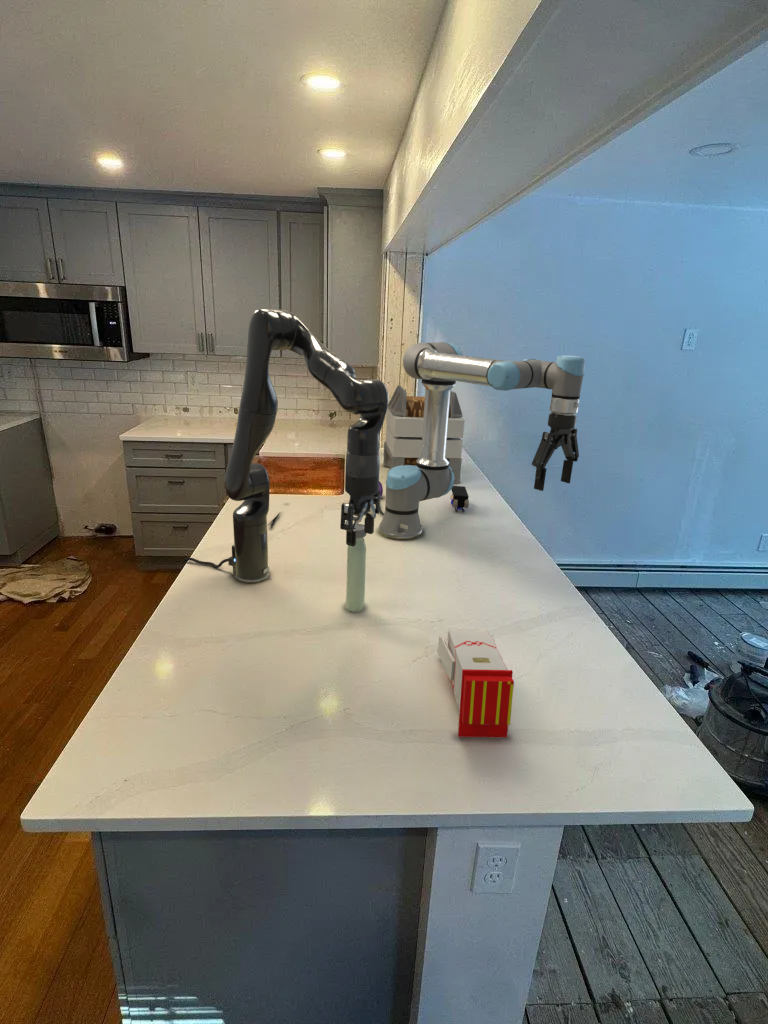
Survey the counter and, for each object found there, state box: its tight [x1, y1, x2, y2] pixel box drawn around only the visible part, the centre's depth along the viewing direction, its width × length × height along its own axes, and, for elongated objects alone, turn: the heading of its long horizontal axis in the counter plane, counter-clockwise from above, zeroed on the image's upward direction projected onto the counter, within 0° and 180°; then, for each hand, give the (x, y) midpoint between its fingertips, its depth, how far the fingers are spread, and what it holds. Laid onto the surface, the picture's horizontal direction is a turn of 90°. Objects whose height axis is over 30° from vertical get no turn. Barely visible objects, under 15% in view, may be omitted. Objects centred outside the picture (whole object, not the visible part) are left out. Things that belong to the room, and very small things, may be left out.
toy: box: [437, 628, 515, 738], centre depth 117 cm, size 12×13×30 cm
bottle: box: [345, 537, 367, 613], centre depth 146 cm, size 5×5×22 cm
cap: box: [356, 523, 367, 538], centre depth 142 cm, size 5×5×2 cm
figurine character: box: [450, 485, 470, 513], centre depth 227 cm, size 7×8×15 cm
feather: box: [267, 512, 281, 529], centre depth 211 cm, size 2×28×2 cm
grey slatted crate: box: [383, 384, 465, 484], centre depth 268 cm, size 34×33×41 cm
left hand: (360, 539), depth 131 cm, fingers open, 8 cm apart
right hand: (552, 485), depth 166 cm, fingers open, 13 cm apart
